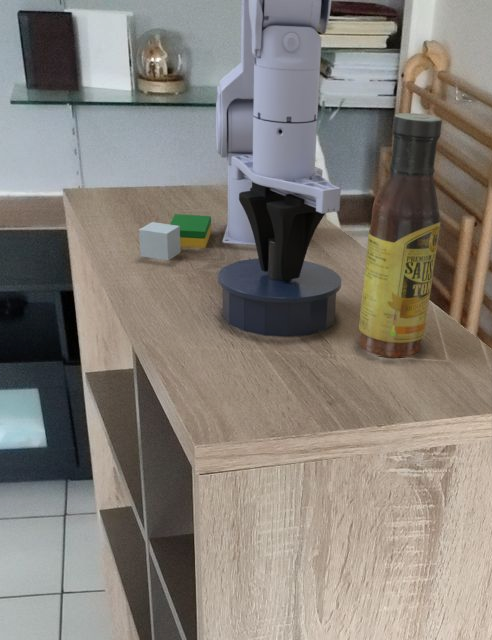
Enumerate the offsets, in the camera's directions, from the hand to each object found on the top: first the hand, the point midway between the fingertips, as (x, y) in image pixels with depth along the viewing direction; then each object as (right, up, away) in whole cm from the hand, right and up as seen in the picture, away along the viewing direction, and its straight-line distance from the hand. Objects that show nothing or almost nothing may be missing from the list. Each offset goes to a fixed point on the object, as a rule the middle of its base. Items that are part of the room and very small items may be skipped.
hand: (280, 274), depth 88 cm
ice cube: (-14, +8, +17) cm, 24 cm away
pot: (0, -4, +3) cm, 5 cm away
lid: (0, -1, +1) cm, 1 cm away
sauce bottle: (+11, -8, -1) cm, 13 cm away
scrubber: (-12, +13, +22) cm, 28 cm away
